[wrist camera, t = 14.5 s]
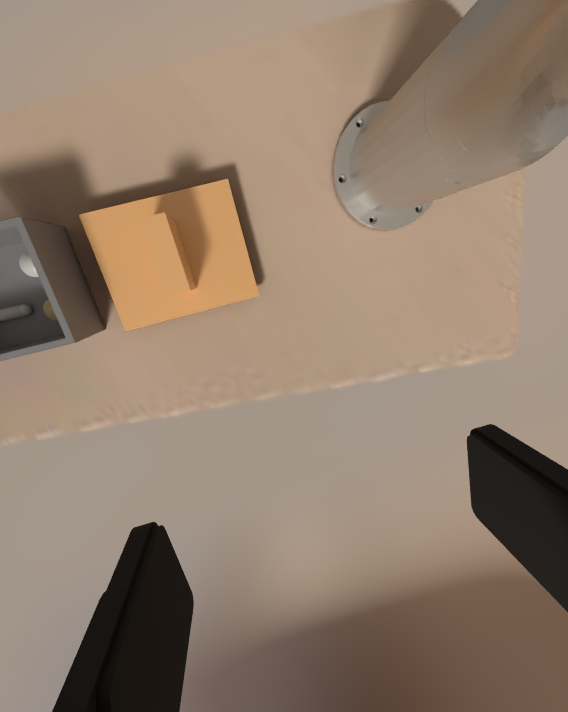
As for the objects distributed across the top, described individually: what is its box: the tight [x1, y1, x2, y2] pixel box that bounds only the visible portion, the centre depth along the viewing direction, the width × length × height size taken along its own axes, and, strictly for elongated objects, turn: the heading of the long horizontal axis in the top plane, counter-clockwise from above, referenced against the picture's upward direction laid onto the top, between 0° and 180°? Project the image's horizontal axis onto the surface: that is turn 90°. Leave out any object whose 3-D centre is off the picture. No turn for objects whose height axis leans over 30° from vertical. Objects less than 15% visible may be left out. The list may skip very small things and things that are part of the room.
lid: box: [79, 179, 259, 331], centre depth 32 cm, size 15×12×6 cm
